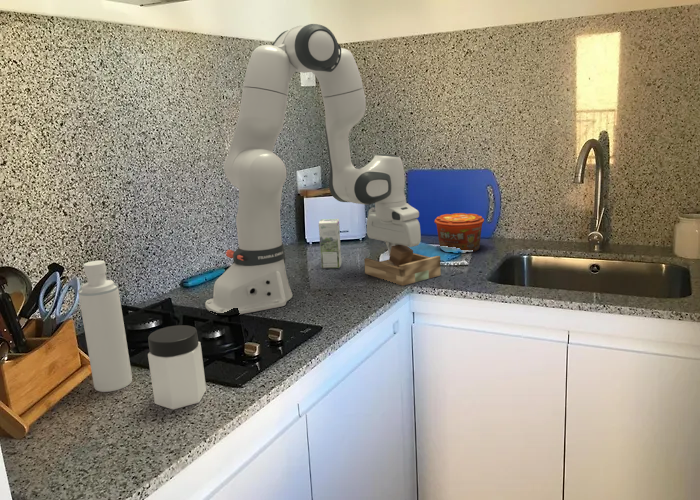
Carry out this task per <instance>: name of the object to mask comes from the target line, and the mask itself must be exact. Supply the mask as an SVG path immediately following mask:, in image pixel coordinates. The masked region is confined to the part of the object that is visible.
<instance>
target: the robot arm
mask: <svg viewBox="0 0 700 500" xmlns="http://www.w3.org/2000/svg"><path fill="white" fill-rule="evenodd" d="M358 67H359V66H358V65H357V61H356V59H355V57H354V54H353V53H352V52H351V50H349V49H347V48H344V47H341V45H340V44H339V43H338V40H337V38H336V37H335V35H334V33H333V32H332V31H331V30H330V29H329V27H326V26H325V25H321V24H317V23H310V24H309V23H308V24H306V25H297V26H294V27H291V28H290V29H287V30H285V31H283V32H281V33H280V34H279V35H278V36H277V37H276V38H275V40H274V41H273V42H272V44H263V45H260V46H257V47H256V48H255V49H254V50H253V51H252V53H251V55H250V58H249V61H248V63H247V68H246V71H245V75H244V79H243V80H244V81H243V85H242V93H241V100H240V107H239V113H238V118H237V123H236V126H235V130H234V133H233V136H232V139H231V143H230V145H229V148H228V149H229V151H228V153H227V156H226V158H225V160H224V162H223V163H224V164H223V171H224V174H225V176H226V178H227V180H228V182H229V183H230V184H231V185H233V186H234V187H235V188H237V189H238V194H239V195H238V206H237V207H238V208H237V214H236V217H235V221H236V232H237V240H238V247H237V249H236V250H235V251H234V250H232V249H227V250H226V251H225V255H226V257H227V258H229V259H233V263H232V264H231V265H230V266H229V267H228V268H227V269H226V270H225V271H224V272H223V273H222V275H220V276H219V277H217V279H216V280H215V282H214V285H213V293H212V295H213V298H210V299H207V300H206V301H205V304H204V305H205V309H206V310H207V311H208V312H210V311H213V312H216V313H224V312H227V311H229V310H231V309H233V308H238V310H239V313H240V314H239V315H243V314H249V313H254V312H259V311H264V310H270V309H277V308H280V307H284V306H286V304H287V302H288V301H289V300H291V299H292V298H293V296H294V295H293V293H292V289H291V287H290V283H289V280H288V275H287V272H286V266H285V264H286V253H285V244H284V243H283V241H282V240H283V237H282V227H281V203H282V195H283V187H284V184H285V182H286V179H287V168H286V164H285V163H284V161H283V160H282V159H281V158H280V157H279V156H278V155H277V154H275V153H274V152H273V150H274V148H275V145H276V142H277V140H278V137H279V135H280V133H281V132H282V130H283V128H284V124H285V123H284V122H285V116H286V109H287V105H288V104H287V103H288V97H289V89H290V83H291V80H292V78H293V76H294V74H297V73H303V74H304V73H305V74H306V73H312V74H313V75H314V76H315V78H316V79H317V81H318V83H319V87H320V92H321V93H320V94H321V96H322V101H323V108H324V114H325V115H324V116H325V120H324V131H325V140H326V147H327V153H328V154H327V155H328V161H329V177H328V178H329V179H328V189H329V192H330V194H331V196H332V197H333V198H334V199H335V200H336V201H338V202H341V203H353V204H358V205H373V204H375V205H374V206H375V207H371V208H370V209H369V210H368V214H367V215H368V216H367V219H366V234H367V237H368V238H369V239H372V240H378V241H383V242H385V246H386V248H387V250H388V253H389V254H388V255H389V256H388V257H390V252H391V246H395V245H403V246H408V247H409V248H413V247H416V246H419V244H420V243H421V240H422V237H421V233H422V232H421V224H420V222H419V219H418V218H419V217H420V212H419V210H418V209H416V208H415V207H413V206H412V205H410V204H409V203H407V199H406V195H405V186H406V185H405V184H406V178H405V177H406V176H405V170H404V169H405V168H404V164H403V160H402V159H401V157H400V156H398V155H395V154H388V153H387V154H386V153H385V154H383V153H378V154H377V153H376V154H375V155H374V157H373V158H372V159H371V160H370V162H368V163H367V164H366V165H364V166H363V167H361V168H356V167H355V166H354V164H353V163H352V156H351V148H350V142H349V141H350V140H349V137H350V136H349V135H350V132H351V130H352V129H353V127H355V126H356V125H357V124H358V123H359V122H360V121H362V118H363V116H364V115H365V113H366V108H367V102H366V95H365V94H366V93H365V89H364V84H363V80H362V77H361V73H360V70H359V68H358Z"/></svg>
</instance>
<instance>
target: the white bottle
mask: <svg viewBox="0 0 700 500" xmlns="http://www.w3.org/2000/svg"><path fill="white" fill-rule="evenodd" d="M83 271H84V275H85V276H86V281H87V283H86V282H85V283H84V284H82V285H81V288H79V289H78V291H77V292H78V298H79V306H80V310H81V311H80V312H81V317H82V322H83V328H84V334H85V340H86V347H87V353H88V359H89V364H90V371H91V376H92V382H93V388H94V389H95V390H96V391H98V392H101V393H102V392H103V393H104V392H105V393H107V392H108V393H109V392H115V391H116V392H117V391H120V390H122V389H124V388H126V387H128V386H129V385H130V384H131V383H132V382H133V376H132V375H133V374H132V367H131V362H130V355H129V349H128V342H127V334H126V329H125V324H124V323H125V322H124V315H123V310H122V303H121V298H120V290H119V285H118V283H115V282H114V281H113V280H111V279H107V275H106V273H107V267H106V261H104V260H99V259H98V260H93V261H92V260H91V261H88V262H85V263H83Z"/></svg>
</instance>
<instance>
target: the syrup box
mask: <svg viewBox="0 0 700 500" xmlns="http://www.w3.org/2000/svg"><path fill="white" fill-rule="evenodd" d="M340 231H341V230H340V219H339V218H327V219H326V218H325V219H320V220H319V222H318V234H319V236H318V237H319V250H320V251H319V252H320V262H321V263H320V265H321V269H340V267H341V265H342V253H341V252H342V251H341V232H340Z"/></svg>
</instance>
